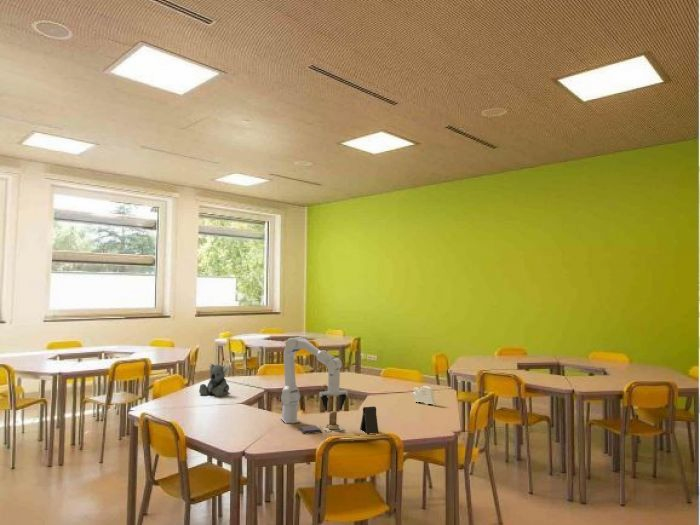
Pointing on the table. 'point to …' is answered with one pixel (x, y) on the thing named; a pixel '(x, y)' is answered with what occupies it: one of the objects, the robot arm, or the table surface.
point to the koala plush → (216, 381)
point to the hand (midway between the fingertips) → (333, 410)
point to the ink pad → (309, 429)
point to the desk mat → (334, 430)
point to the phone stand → (369, 420)
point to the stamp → (332, 421)
